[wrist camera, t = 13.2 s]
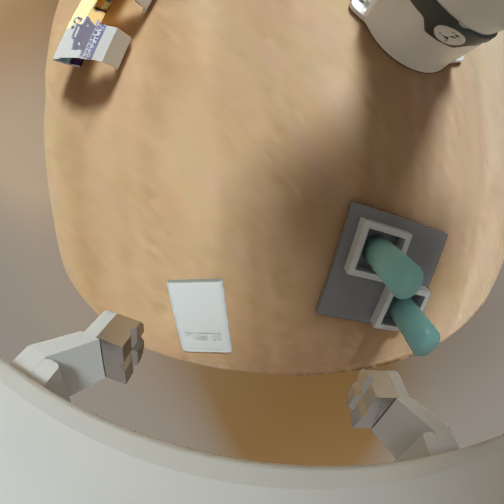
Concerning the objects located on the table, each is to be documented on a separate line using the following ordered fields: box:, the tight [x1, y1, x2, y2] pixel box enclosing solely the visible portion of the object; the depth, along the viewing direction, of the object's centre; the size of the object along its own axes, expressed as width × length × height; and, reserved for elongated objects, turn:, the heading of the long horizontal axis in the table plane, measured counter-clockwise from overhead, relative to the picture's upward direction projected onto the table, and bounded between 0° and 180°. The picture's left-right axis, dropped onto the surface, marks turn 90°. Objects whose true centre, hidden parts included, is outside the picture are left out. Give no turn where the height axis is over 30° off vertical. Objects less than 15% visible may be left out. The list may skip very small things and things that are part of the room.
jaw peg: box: [362, 235, 424, 299], centre depth 29 cm, size 4×4×10 cm
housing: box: [316, 201, 448, 356], centre depth 31 cm, size 16×16×11 cm
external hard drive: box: [166, 279, 232, 353], centre depth 40 cm, size 2×8×12 cm
